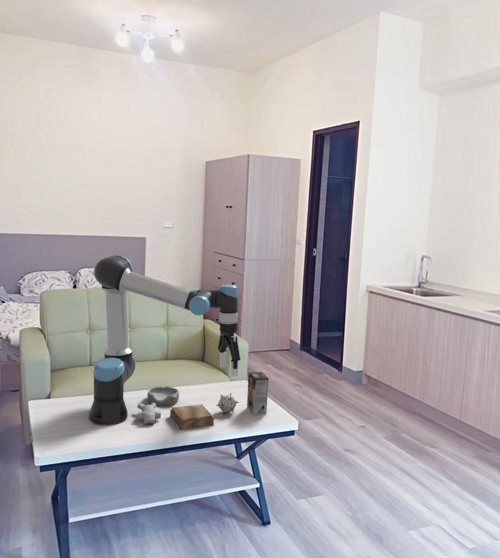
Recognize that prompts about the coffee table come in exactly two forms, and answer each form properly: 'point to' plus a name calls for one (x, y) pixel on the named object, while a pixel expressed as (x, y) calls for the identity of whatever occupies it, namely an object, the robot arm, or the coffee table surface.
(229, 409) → the game die
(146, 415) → the grey teddy bear
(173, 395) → the dish
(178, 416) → the plinth
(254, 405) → the coffee box
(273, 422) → the coffee table surface
